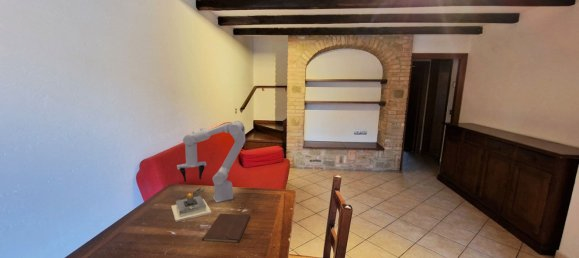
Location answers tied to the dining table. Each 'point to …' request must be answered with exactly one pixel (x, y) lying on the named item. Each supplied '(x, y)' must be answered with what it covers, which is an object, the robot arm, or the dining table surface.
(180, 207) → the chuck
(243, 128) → the robot arm
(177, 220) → the stand base
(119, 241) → the dining table surface
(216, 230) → the notebook
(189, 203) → the orange topped can
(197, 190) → the pliers
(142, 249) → the dining table surface
